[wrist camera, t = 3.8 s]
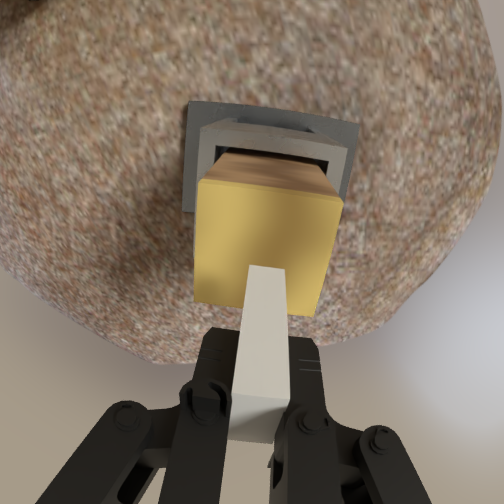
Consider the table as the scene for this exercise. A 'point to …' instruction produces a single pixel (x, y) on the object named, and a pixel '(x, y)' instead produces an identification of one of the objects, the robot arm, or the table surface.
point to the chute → (263, 141)
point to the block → (264, 226)
